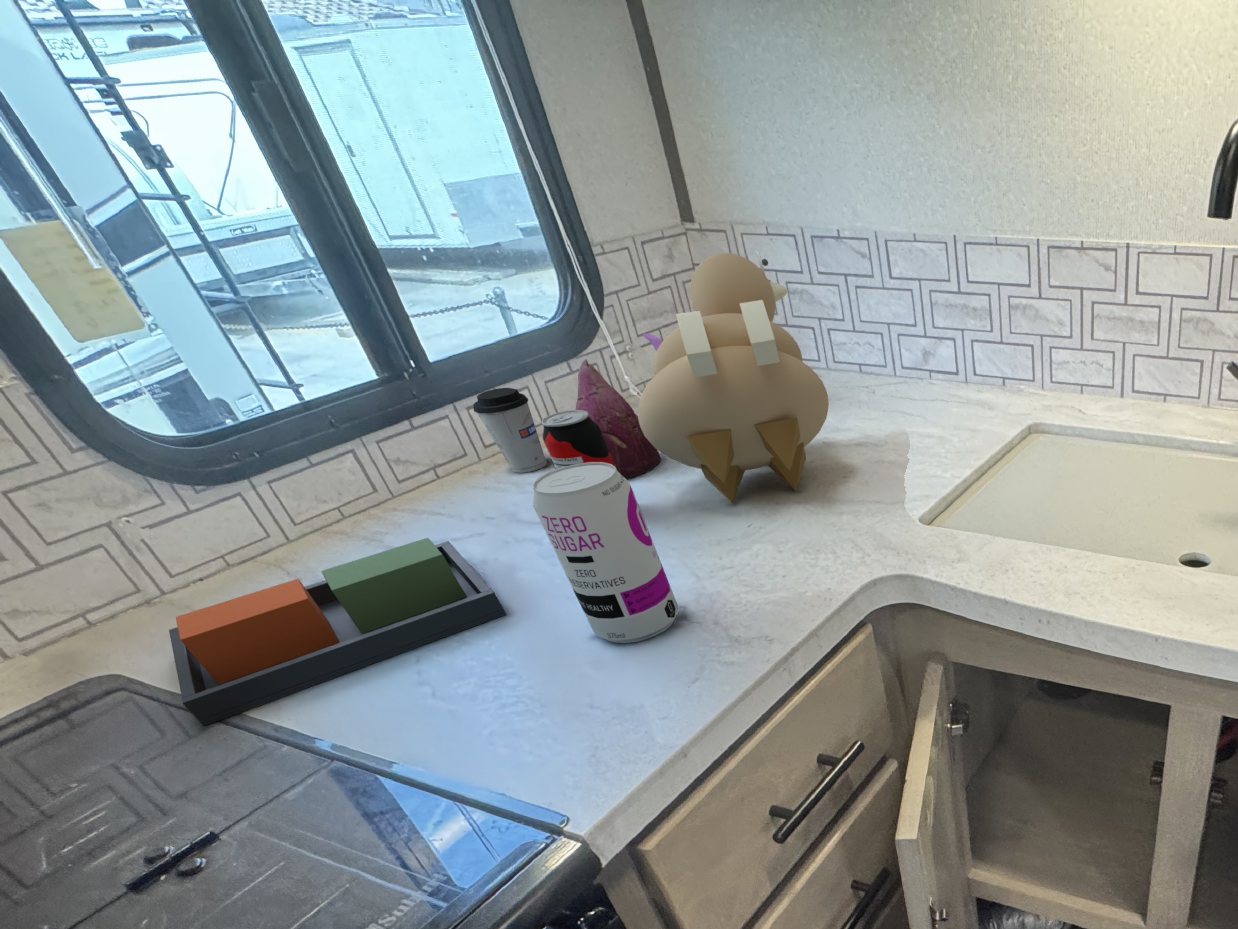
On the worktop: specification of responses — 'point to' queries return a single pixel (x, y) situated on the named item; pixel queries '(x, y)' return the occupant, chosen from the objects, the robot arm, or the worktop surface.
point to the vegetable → (615, 423)
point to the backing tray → (334, 647)
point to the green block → (394, 585)
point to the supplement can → (605, 551)
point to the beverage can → (574, 439)
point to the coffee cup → (511, 428)
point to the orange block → (255, 631)
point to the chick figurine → (732, 381)
